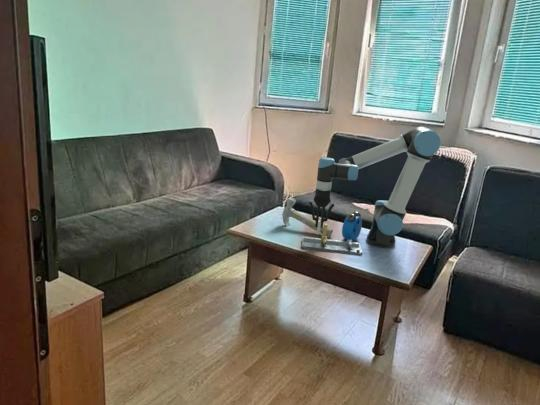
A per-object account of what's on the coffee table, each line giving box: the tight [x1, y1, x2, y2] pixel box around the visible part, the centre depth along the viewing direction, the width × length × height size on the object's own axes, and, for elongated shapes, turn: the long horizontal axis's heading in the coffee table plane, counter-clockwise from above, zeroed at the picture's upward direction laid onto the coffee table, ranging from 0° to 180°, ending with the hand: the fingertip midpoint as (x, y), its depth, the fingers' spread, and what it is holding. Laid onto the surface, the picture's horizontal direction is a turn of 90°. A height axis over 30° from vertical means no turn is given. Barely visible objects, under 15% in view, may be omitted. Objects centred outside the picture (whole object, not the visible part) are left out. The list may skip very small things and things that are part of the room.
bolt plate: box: [301, 238, 363, 256], centre depth 225 cm, size 30×11×2 cm, turn 85°
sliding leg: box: [321, 222, 329, 246], centre depth 225 cm, size 2×8×10 cm, turn 175°
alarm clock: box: [341, 211, 363, 242], centre depth 237 cm, size 13×6×15 cm, turn 146°
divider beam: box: [304, 236, 360, 249], centre depth 225 cm, size 28×8×3 cm, turn 85°
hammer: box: [282, 197, 334, 238], centre depth 245 cm, size 16×5×30 cm
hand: (318, 233), depth 227 cm, fingers closed
